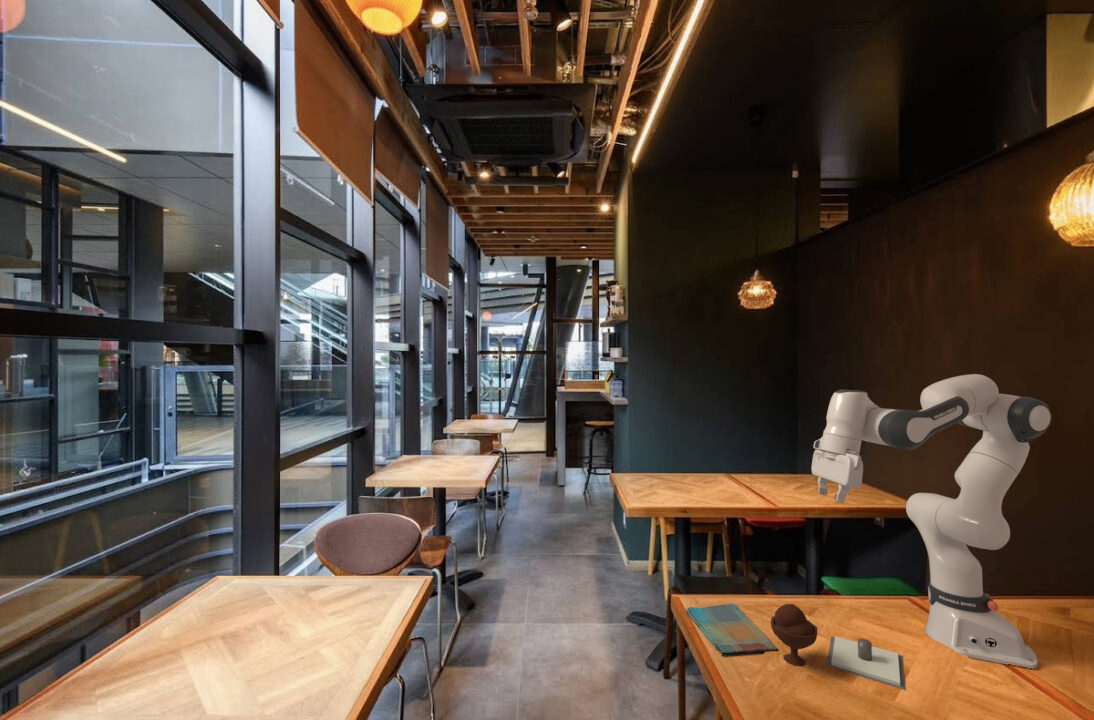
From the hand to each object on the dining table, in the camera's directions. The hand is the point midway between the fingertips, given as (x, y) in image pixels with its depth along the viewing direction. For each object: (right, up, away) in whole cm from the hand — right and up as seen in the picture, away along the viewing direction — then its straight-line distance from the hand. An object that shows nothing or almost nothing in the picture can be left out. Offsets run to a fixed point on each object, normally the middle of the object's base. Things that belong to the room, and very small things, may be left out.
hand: (830, 498), depth 124 cm
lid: (+7, -41, -4) cm, 42 cm away
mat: (+7, -41, -4) cm, 42 cm away
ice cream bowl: (-11, -42, -4) cm, 43 cm away
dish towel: (-23, -43, +11) cm, 50 cm away
